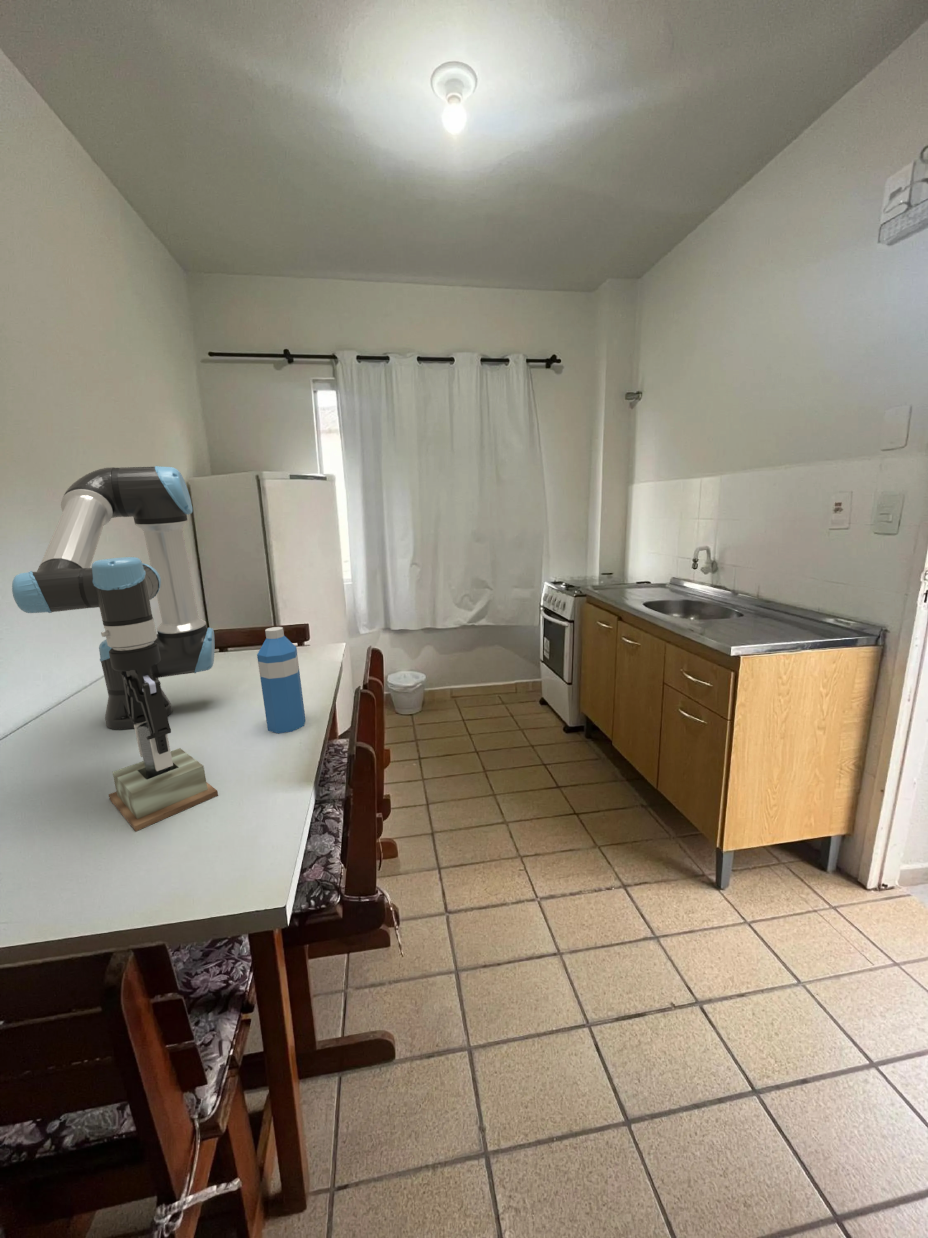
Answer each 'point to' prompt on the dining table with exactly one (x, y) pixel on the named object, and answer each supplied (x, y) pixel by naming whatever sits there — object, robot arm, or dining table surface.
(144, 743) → the peg
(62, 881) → the dining table surface
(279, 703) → the water bottle
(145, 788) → the socket
